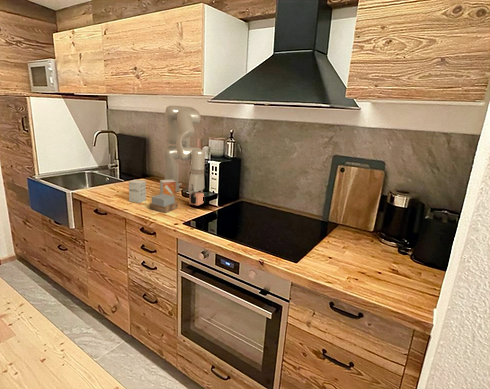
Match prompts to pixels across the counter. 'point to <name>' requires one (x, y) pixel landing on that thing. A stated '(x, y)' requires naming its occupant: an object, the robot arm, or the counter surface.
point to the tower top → (163, 200)
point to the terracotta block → (197, 198)
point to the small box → (168, 187)
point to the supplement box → (137, 191)
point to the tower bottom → (163, 209)
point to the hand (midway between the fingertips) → (196, 201)
